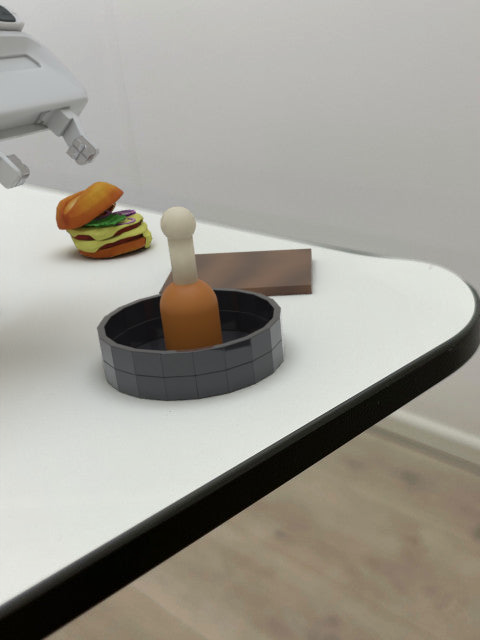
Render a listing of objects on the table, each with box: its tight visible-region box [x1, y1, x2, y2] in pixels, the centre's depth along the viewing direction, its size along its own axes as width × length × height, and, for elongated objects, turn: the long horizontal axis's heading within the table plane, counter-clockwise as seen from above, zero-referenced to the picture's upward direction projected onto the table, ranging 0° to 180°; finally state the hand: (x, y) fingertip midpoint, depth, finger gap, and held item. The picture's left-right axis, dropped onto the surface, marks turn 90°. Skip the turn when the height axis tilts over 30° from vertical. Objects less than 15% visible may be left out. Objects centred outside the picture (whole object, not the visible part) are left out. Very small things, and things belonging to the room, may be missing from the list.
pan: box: [96, 288, 285, 402], centre depth 66 cm, size 15×15×4 cm
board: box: [158, 247, 313, 297], centre depth 87 cm, size 16×14×2 cm
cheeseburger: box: [55, 181, 153, 260], centre depth 100 cm, size 10×11×10 cm
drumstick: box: [159, 205, 223, 351], centre depth 64 cm, size 5×5×13 cm
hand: (58, 169), depth 61 cm, fingers open, 8 cm apart
